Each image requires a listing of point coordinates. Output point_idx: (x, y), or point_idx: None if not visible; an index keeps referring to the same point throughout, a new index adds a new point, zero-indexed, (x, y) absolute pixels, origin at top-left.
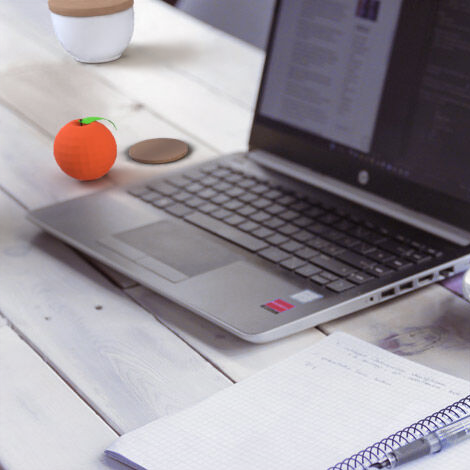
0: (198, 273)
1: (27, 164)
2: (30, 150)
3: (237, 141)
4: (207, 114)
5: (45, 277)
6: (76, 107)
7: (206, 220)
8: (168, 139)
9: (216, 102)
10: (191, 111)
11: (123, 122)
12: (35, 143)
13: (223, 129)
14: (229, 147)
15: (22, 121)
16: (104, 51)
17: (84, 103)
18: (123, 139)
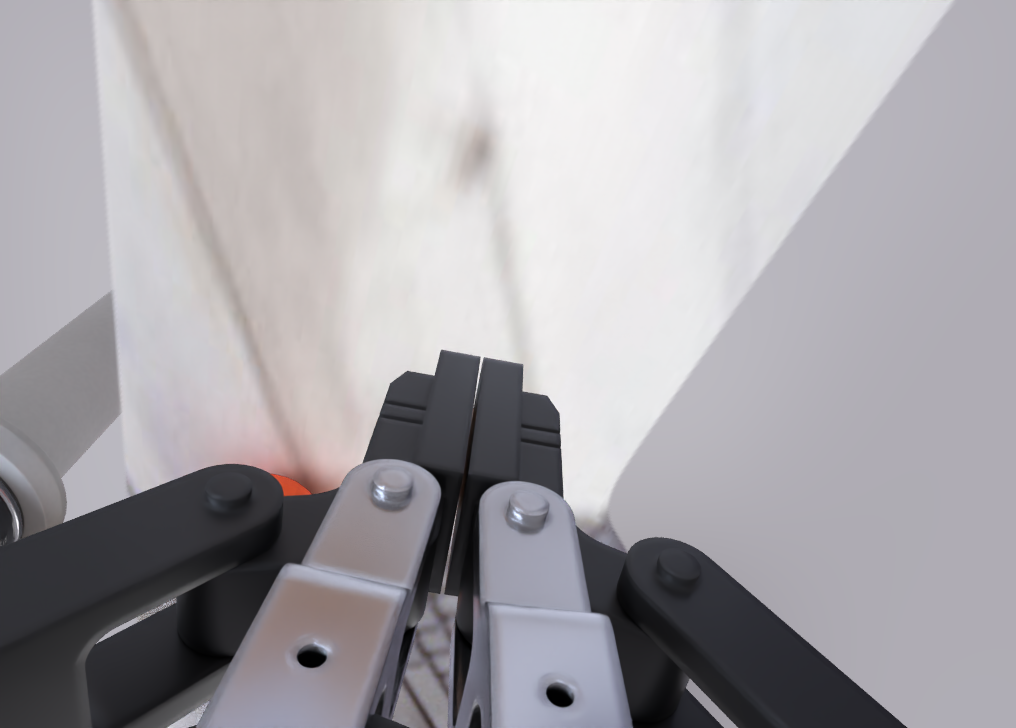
0: None
1: (162, 386)
2: (168, 316)
3: (609, 472)
4: (623, 298)
5: (191, 720)
6: (303, 62)
7: (430, 690)
8: (471, 419)
9: (686, 225)
10: (595, 258)
11: (407, 249)
12: (179, 281)
13: (613, 402)
14: (580, 490)
15: (143, 106)
16: None
17: (331, 36)
18: (382, 353)
